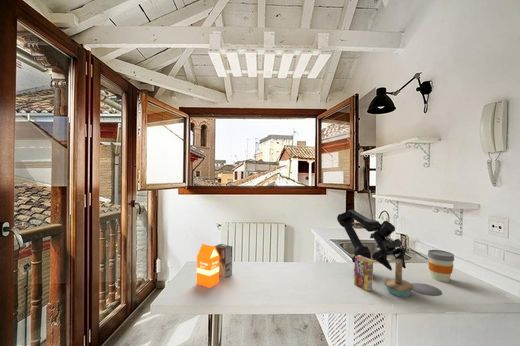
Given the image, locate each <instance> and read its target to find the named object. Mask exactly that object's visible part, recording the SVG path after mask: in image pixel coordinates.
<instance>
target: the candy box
mask: <svg viewBox="0 0 520 346" xmlns="http://www.w3.org/2000/svg"><path fill="white" fill-rule="evenodd" d="M354 256H355V255H354ZM354 269H355V272H354V276H353V277H354V278H353V284H354V286H355V287H356V286H357V287H358V288H361V290H362V289H363V290H365V291H372V290H373V282H374V281H373V275H374V260H373V259H372V258H371V259H368V258H366V257H363V256H360V255H358V256H355V263H354Z"/></svg>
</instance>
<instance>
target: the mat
mask: <svg viewBox="0 0 520 346" xmlns="http://www.w3.org/2000/svg"><path fill="white" fill-rule="evenodd" d="M410 283H411V284H412V285H413V290H412V291H413V292H414V293H417V294H419V295H423V296H430V297H439V296H442V295H443V291H442V290H441V289H440V288H437V287H436V286H433V285H431V284H426V283H421V282H410Z"/></svg>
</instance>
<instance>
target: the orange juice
mask: <svg viewBox="0 0 520 346" xmlns="http://www.w3.org/2000/svg"><path fill="white" fill-rule="evenodd" d="M214 246H215V245H209V244H204V243H202V244H201V247H200V248H199V251H198V252H197V254H196V255H197V256H196V284H197V285H199V284H200V286H202V285H203V286H202V287H205V286H206V288H212V287H213V286H215V285H217V284H218V283H219V284H220V276H219V254H218V252H217V250H216V248H215V247H214Z"/></svg>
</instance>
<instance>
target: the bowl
mask: <svg viewBox="0 0 520 346" xmlns="http://www.w3.org/2000/svg"><path fill="white" fill-rule="evenodd" d="M385 286H386V285H385ZM386 291H387V292H388V293H389V294H391V295H394V296H396V297H406V298H407V297H409V296H410V295H411V291H412V290H411V291H398V290H394V289H391V288H389V287H387V286H386Z"/></svg>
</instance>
